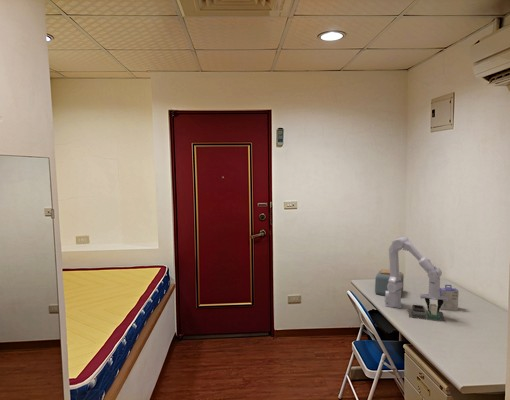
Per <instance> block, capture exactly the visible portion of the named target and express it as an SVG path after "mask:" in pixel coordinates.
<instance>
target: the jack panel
mask: <svg viewBox="0 0 510 400" xmlns="http://www.w3.org/2000/svg"><path fill="white" fill-rule="evenodd" d="M407 313H408V314H409V315H408V318H410V317H412V318H413V319H418V318H419V319H420V320H426V319H427V321H428V320H429V321H436V322H443V323H445V322H446V319H445V317H444V314H443V312H442V311H439V313H438V312H437V315H430V311H428V309H427V310H426V309H425V307H424V305H420V304H419V305H418V304H412V305H411V308H409V307H407ZM419 319H418V320H419Z"/></svg>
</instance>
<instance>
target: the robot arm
mask: <svg viewBox="0 0 510 400" xmlns="http://www.w3.org/2000/svg"><path fill="white" fill-rule="evenodd" d="M401 250H403V251H406V252H409V253H410V254H411V255H412V256H413V257H414V258H415V259H416V260H417V261H418V264H419V266H420V267H421V268H422V269H423V270H424V271H425V273H427V277H428V294H425V293H424V294H423V293H422V294H421V293H420V294H419V298H420V299H421V300H422V299H424V300H425V304H426V306H427V310H428V311H430V304H431V300H435V301H436V300H437V305H436V306H437V312H438V313H439V312H440V310H441V309H440V307H441V306H442V304H443V300H444V301H448V297H444V296H439V295H440V288H441V276H442V275H443V274H442V271H441V269H440V268H439V267H437V266H436V265H435V264H433V263H432V261H431V259H430V258H427V257H424V256H423V254H422V253H420V251H419V250H418V249H417V248H416V246H414V244H413V242H412V241H411V240H410V239H409V238H408V237H406V236H401V237H399V238H395V239H394V240H393V241H391V244H390V247H389V248H388V253H389V254H388V256H389V257H388V258H389V270H390V278H389V280H388V285H387V289H388V290H389V291H386V293H385V299H384V305H385V307H389V308H399V309H402V299H401V298H402V293H401V289H402V287H403V288H404V283H403V284H402V281H401V278H400V277H399V272H400V265H399V262H400V261H399V252H400V251H401Z"/></svg>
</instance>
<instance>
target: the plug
mask: <svg viewBox="0 0 510 400" xmlns="http://www.w3.org/2000/svg"><path fill="white" fill-rule="evenodd" d="M437 306H438V305H437V304H436V303H430V315H437Z"/></svg>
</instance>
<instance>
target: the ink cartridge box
mask: <svg viewBox="0 0 510 400" xmlns="http://www.w3.org/2000/svg"><path fill="white" fill-rule="evenodd" d="M444 286H445V287H440V295H439V296H444V297H448V301H444V300H443V304H442V306H441V307H440V310H446V311H447V310H448V311H458V310H459V290H458V289H457V288H453V287H452V284H444Z"/></svg>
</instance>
